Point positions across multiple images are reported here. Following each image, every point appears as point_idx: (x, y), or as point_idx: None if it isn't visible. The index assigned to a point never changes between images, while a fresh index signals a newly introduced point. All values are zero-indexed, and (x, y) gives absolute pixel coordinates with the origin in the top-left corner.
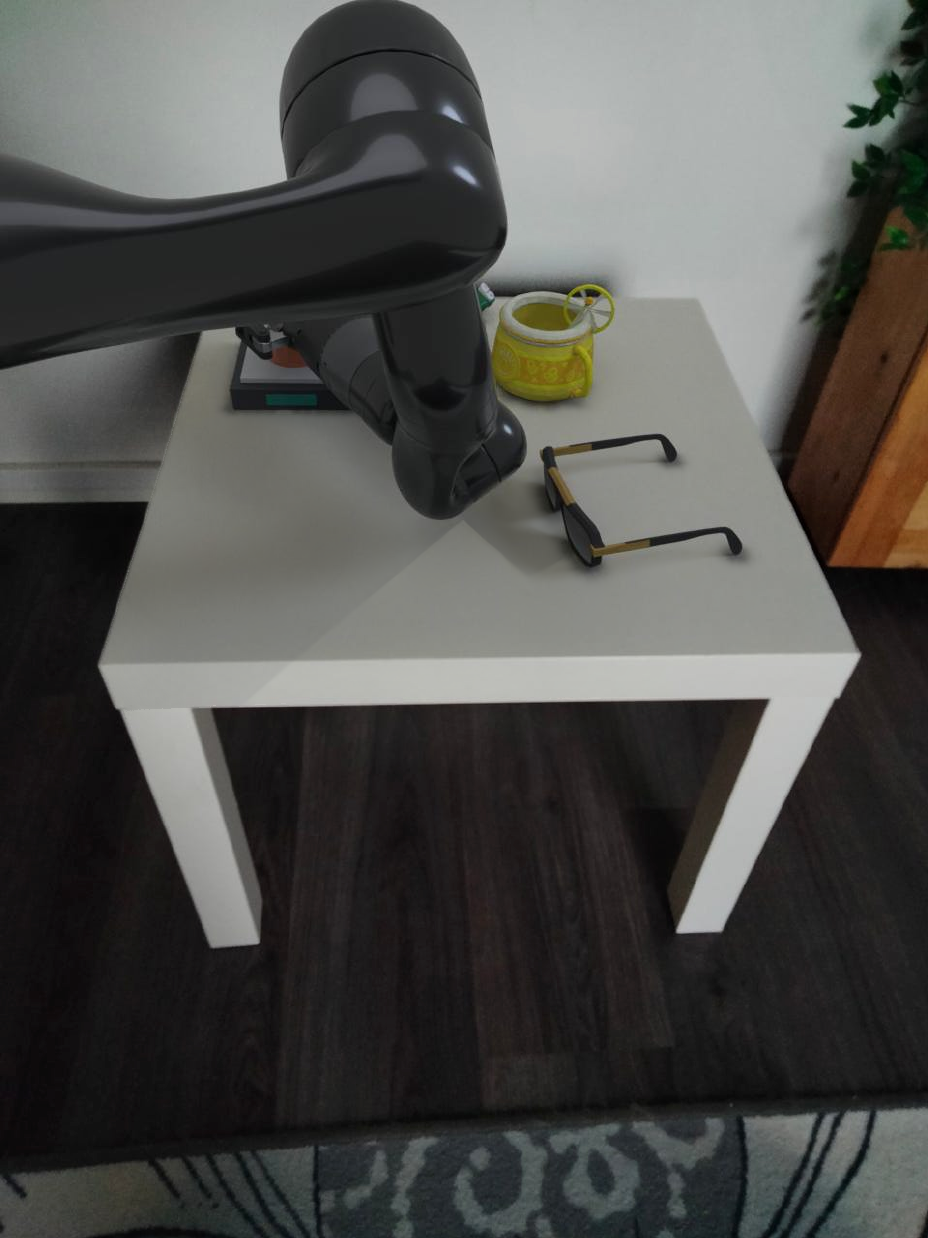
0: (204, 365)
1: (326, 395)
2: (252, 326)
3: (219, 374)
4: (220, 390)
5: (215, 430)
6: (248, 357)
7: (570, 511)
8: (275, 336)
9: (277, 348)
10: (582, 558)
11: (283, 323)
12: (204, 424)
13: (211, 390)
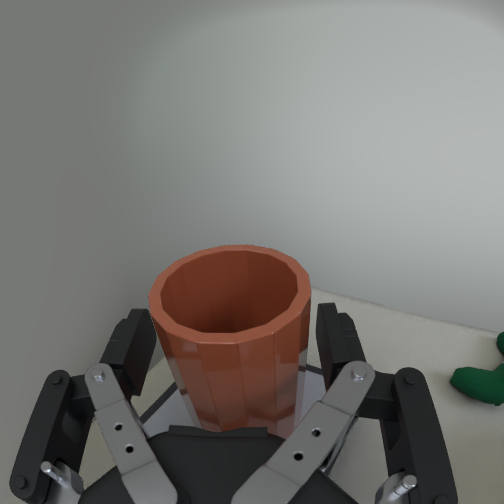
0: (161, 361)
1: None
2: (24, 450)
3: (164, 384)
4: (143, 412)
5: (87, 475)
6: (176, 397)
7: None
8: (59, 500)
9: (194, 425)
10: None
11: (194, 409)
12: (86, 457)
13: (135, 406)
